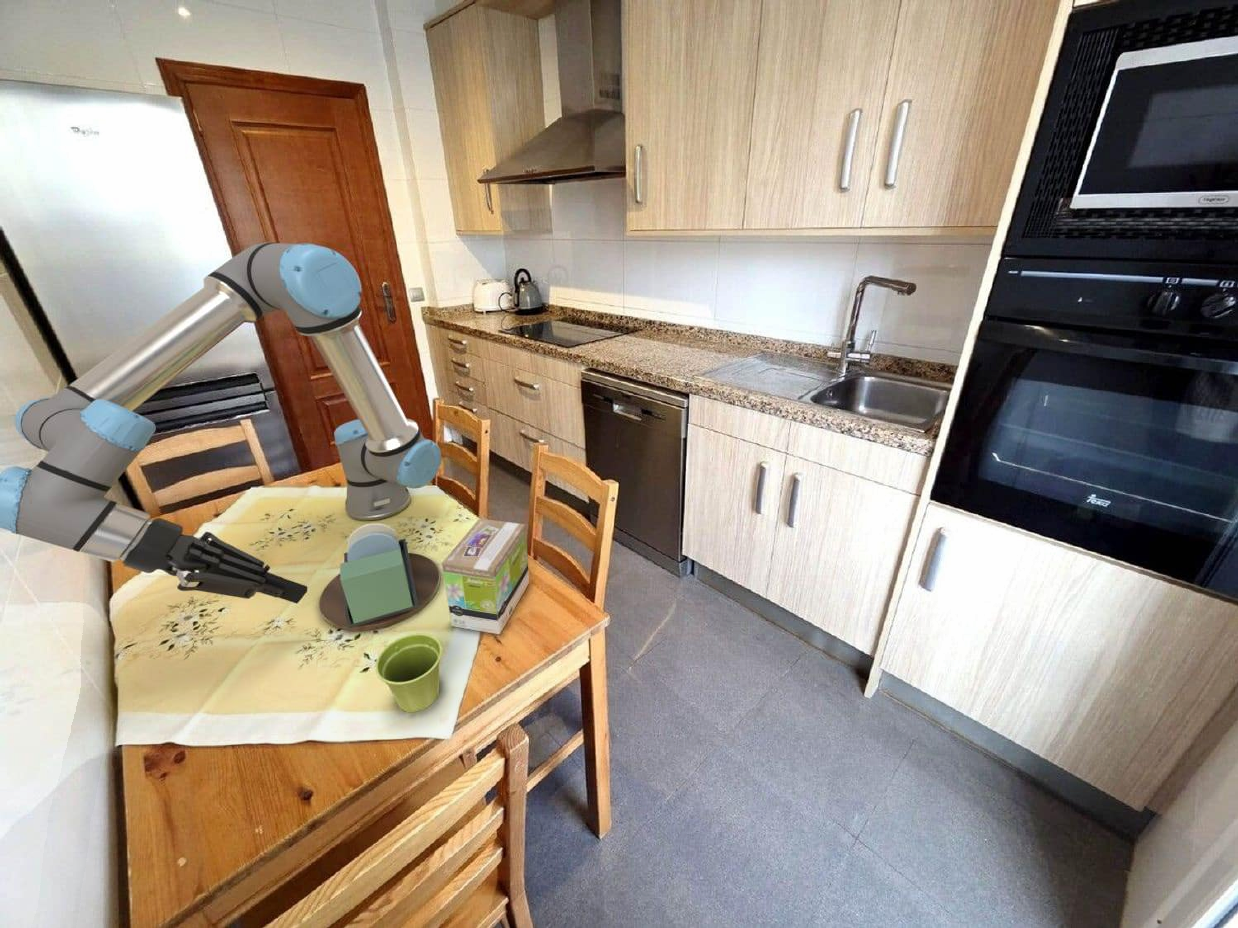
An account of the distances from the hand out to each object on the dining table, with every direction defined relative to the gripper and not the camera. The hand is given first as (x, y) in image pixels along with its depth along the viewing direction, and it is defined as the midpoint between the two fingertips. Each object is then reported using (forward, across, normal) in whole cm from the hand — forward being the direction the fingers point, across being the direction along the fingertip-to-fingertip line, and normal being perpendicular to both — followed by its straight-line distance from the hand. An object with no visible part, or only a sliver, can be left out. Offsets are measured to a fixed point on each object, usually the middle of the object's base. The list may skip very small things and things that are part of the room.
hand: (302, 594), depth 86 cm
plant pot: (+17, +21, +4) cm, 28 cm away
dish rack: (+14, -8, +2) cm, 16 cm away
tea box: (+28, +6, +15) cm, 33 cm away
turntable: (+15, -8, +2) cm, 17 cm away
